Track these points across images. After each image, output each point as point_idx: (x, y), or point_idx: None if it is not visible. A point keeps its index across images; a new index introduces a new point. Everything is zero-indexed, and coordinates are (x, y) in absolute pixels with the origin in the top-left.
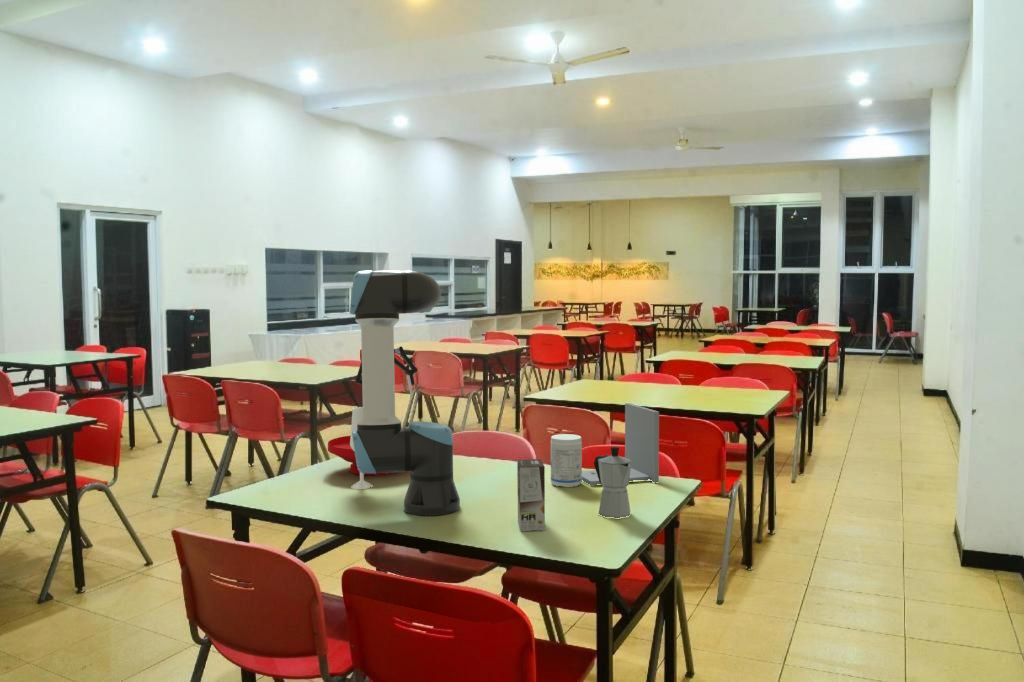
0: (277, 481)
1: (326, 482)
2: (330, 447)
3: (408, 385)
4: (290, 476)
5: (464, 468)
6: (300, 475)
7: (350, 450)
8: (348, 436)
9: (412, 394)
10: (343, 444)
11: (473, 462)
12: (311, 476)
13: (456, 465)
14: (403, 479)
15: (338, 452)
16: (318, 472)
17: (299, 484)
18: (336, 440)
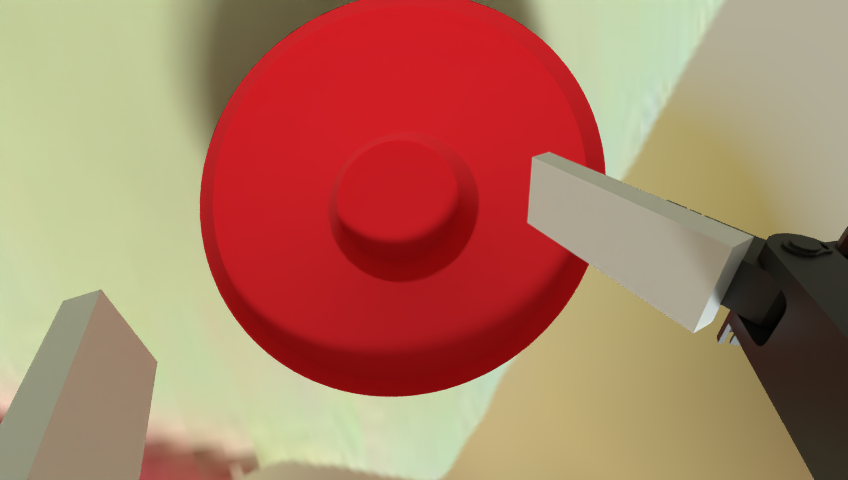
0: (666, 58)
1: (535, 24)
2: (590, 122)
3: (131, 476)
4: (635, 124)
5: (39, 228)
6: (611, 135)
7: (512, 20)
8: (537, 333)
9: (76, 297)
10: (540, 288)
11: (32, 333)
12: None
13: (97, 279)
14: (269, 39)
15: (553, 67)
16: None
17: (610, 5)
18: (571, 281)
